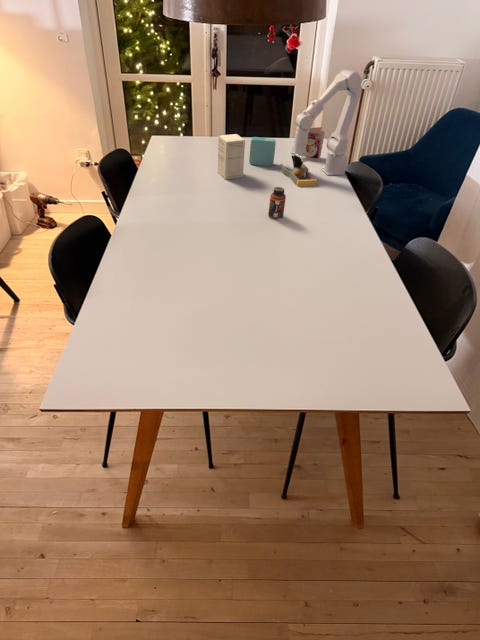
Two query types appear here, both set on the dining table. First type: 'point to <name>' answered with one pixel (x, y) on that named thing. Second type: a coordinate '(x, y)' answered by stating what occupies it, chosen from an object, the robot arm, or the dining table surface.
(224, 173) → the supplement box
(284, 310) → the dining table surface
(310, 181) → the keyhole track
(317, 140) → the greeting card
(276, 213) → the supplement bottle
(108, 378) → the dining table surface
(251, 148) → the data package
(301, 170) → the tan rounded capsule
